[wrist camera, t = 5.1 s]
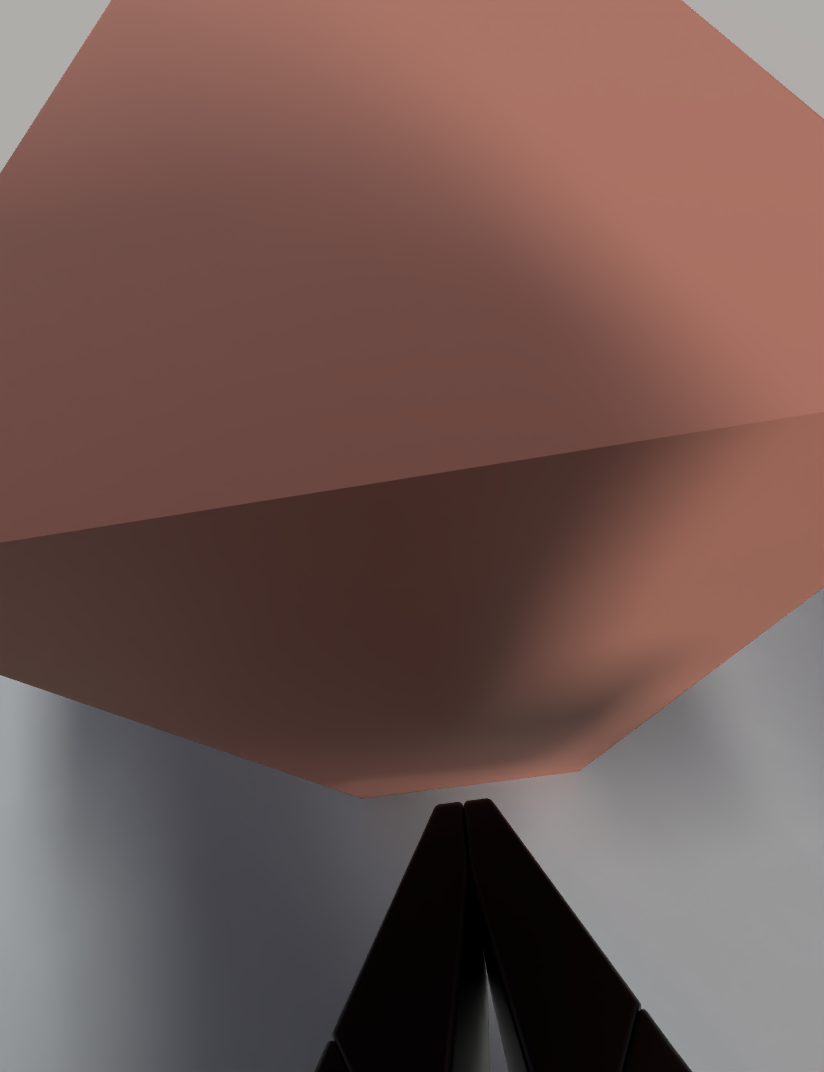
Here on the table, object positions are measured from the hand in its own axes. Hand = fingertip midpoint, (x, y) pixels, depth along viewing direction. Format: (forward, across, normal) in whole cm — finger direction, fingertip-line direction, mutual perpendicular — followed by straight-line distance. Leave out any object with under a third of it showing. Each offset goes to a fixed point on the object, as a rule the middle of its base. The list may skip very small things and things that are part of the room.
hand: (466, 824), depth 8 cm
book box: (+10, 0, -1) cm, 11 cm away
